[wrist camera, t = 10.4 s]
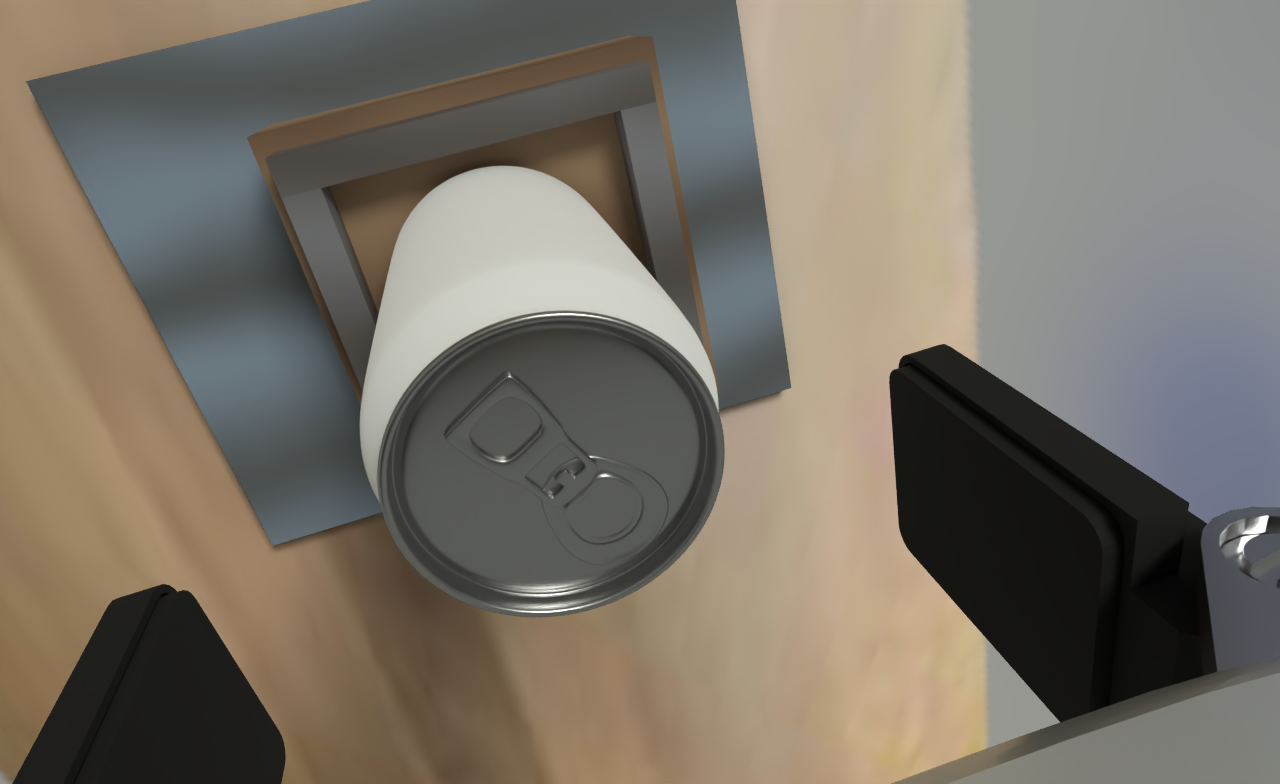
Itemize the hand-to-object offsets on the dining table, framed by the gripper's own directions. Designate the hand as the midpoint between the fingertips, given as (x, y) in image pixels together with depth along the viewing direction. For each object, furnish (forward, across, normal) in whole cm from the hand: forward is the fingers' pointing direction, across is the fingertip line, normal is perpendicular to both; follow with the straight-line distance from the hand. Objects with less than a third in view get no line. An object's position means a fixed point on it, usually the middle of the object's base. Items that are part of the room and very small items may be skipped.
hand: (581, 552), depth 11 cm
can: (+15, 0, +1) cm, 15 cm away
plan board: (+18, 0, +1) cm, 18 cm away
